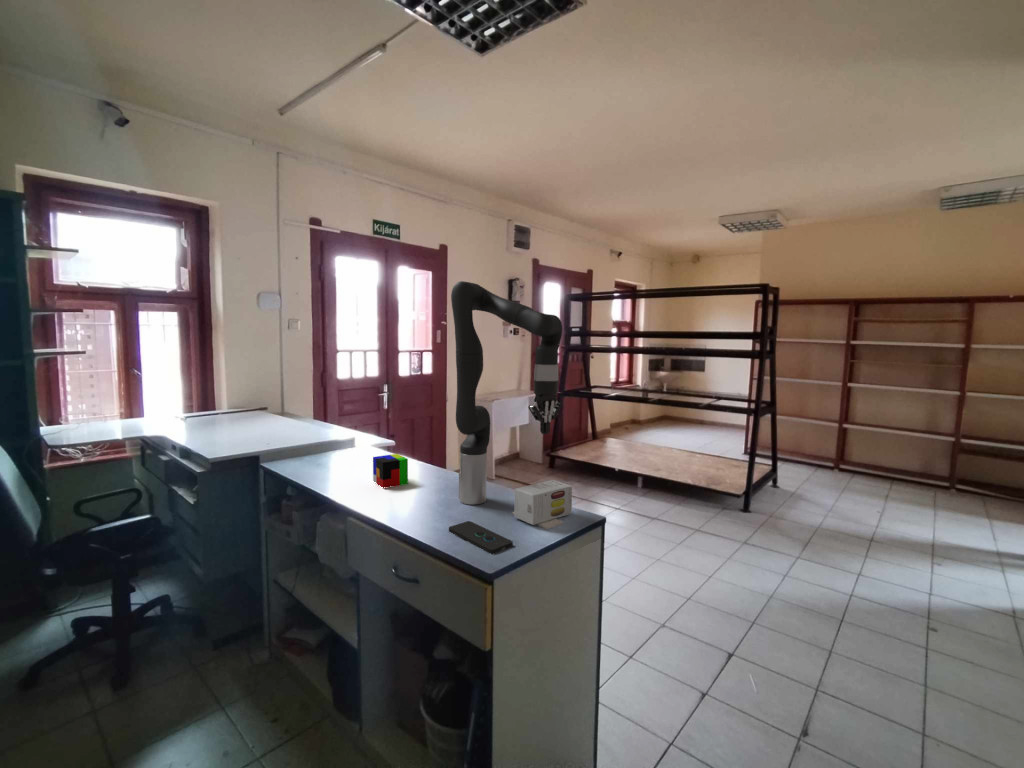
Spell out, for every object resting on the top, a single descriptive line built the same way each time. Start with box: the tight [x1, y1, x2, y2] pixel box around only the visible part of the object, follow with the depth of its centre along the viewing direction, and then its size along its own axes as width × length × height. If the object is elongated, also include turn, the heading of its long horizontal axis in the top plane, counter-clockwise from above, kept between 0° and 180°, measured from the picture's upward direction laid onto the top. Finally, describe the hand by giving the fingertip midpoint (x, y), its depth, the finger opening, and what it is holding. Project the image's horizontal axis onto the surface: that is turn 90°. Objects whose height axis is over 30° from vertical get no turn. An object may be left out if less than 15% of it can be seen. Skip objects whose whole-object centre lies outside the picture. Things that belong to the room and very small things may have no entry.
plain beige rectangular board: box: [512, 510, 564, 530], centre depth 149 cm, size 16×7×1 cm, turn 40°
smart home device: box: [448, 520, 514, 555], centre depth 134 cm, size 8×2×20 cm
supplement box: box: [513, 479, 573, 526], centre depth 149 cm, size 10×9×17 cm
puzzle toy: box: [372, 453, 409, 489], centre depth 183 cm, size 10×10×10 cm
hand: (544, 433), depth 148 cm, fingers closed
